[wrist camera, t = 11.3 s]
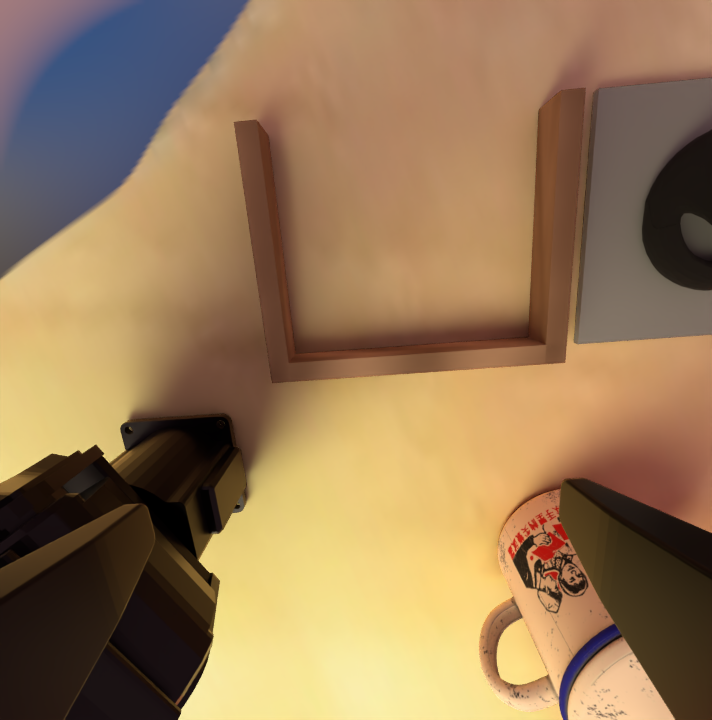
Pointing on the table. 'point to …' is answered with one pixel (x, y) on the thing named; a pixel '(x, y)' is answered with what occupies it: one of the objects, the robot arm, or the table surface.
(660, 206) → the webcam
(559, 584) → the teacup with lid
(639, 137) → the mat
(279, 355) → the holder
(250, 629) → the table surface
